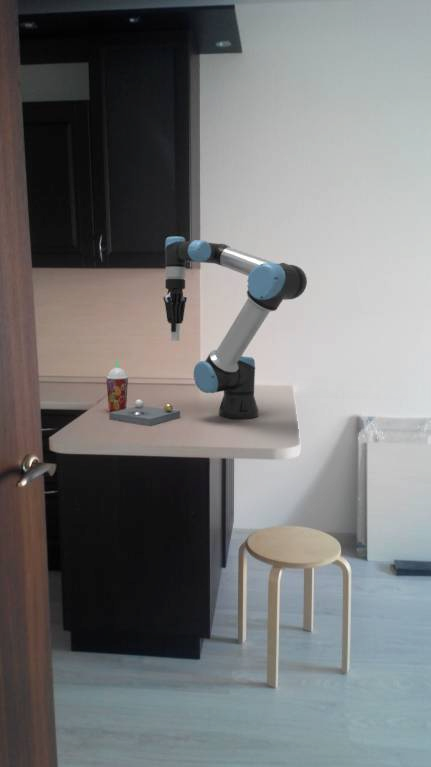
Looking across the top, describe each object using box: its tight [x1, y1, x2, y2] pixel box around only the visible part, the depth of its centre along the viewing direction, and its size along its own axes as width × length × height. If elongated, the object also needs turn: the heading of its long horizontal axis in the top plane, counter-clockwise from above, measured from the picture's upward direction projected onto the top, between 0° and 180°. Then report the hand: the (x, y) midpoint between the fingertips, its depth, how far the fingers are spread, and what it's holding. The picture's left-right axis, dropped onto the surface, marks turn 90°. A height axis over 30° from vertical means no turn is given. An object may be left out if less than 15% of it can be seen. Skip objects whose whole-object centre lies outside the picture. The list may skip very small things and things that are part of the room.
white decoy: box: [134, 399, 144, 408], centre depth 225 cm, size 3×3×3 cm
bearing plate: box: [108, 405, 181, 427], centre depth 218 cm, size 19×18×2 cm
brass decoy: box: [163, 403, 174, 412], centre depth 218 cm, size 3×3×3 cm
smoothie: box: [105, 360, 129, 413], centre depth 229 cm, size 8×8×20 cm
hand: (175, 340), depth 228 cm, fingers closed
